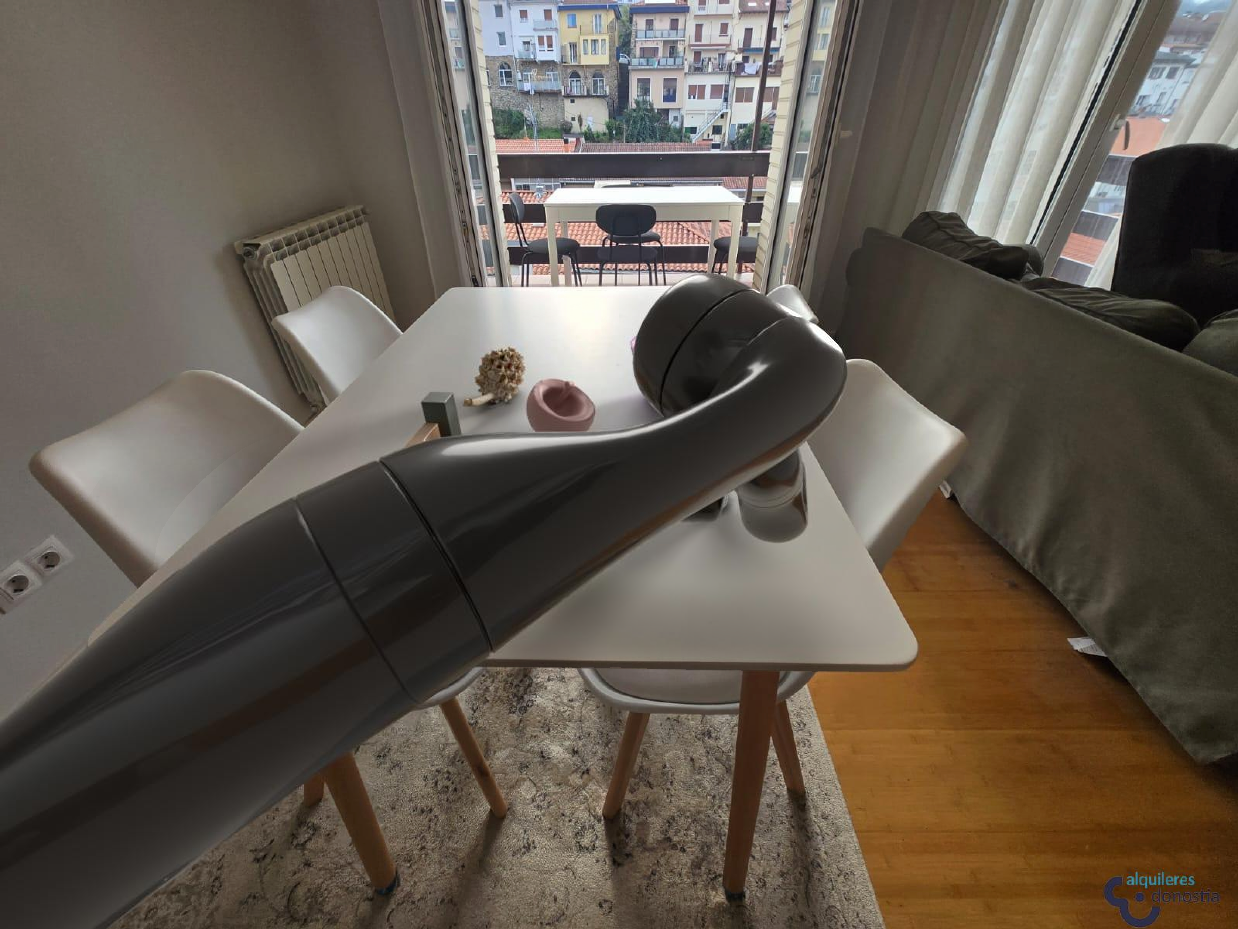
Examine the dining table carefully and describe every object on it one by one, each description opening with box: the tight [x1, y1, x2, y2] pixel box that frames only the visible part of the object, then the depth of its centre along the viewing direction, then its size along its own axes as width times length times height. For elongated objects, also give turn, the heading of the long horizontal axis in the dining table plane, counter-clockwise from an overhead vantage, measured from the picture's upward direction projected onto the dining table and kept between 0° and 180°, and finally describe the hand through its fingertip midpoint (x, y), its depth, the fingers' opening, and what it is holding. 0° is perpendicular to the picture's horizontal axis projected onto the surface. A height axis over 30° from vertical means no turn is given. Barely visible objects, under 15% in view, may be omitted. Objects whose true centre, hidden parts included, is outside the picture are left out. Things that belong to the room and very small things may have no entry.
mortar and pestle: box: [525, 378, 596, 432], centre depth 89 cm, size 12×12×12 cm
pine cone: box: [461, 346, 526, 408], centre depth 101 cm, size 22×10×10 cm, turn 171°
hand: (496, 485), depth 61 cm, fingers open, 8 cm apart
